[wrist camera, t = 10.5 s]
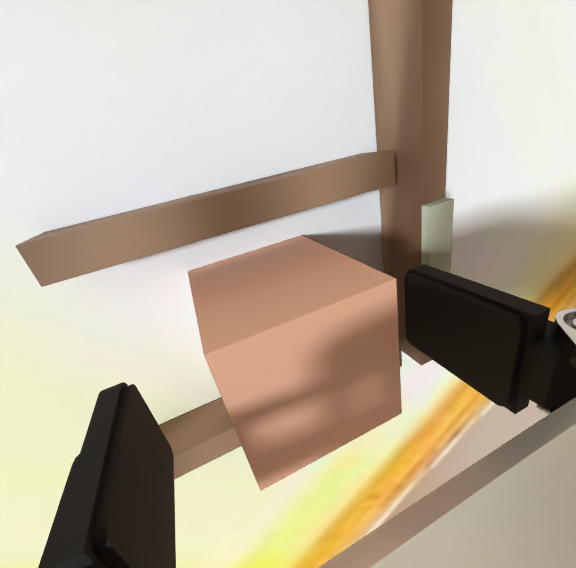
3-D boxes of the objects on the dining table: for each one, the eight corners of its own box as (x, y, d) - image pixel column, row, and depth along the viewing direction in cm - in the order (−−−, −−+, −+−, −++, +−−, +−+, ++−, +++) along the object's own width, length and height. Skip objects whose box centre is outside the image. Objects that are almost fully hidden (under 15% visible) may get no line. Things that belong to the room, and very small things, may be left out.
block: (300, 235, 12) (396, 278, 7) (318, 327, 15) (401, 413, 9) (187, 271, 11) (204, 355, 6) (224, 367, 13) (260, 490, 8)
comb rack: (390, -182, 9) (479, -327, 6) (404, 333, 17) (445, 360, 15) (-242, -257, 5) (-634, -670, 3) (167, 442, 13) (167, 504, 11)
